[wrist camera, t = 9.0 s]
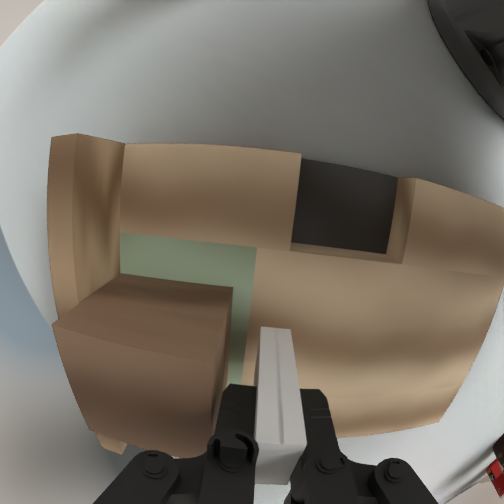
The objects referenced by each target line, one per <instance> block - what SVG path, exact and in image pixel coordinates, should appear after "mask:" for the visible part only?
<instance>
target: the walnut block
mask: <svg viewBox="0 0 504 504" xmlns="http://www.w3.org/2000/svg"><path fill="white" fill-rule="evenodd" d="M232 299H233V287H227V286H218V285H209V284H200V283H192V282H183V281H175V280H167V279H160V278H152V277H145V276H138V275H131V274H124V273H121V274H120V275H118V276H117V277H116V278H114V279H113V280H111V281H110V282H108V283H107V284H106V285H104V286H103V287H101V288H100V289H99V290H97V291H96V292H94V293H93V294H92V295H90V296H89V297H88V298H86V299H85V300H83V301H82V302H81V303H79V304H78V305H77V306H75V307H74V308H73V309H71V310H70V311H69V312H67V313H66V314H65V315H63V316H62V317H61V318H59V319H58V320H57V321H56V322H54V323H53V324H52V327H53V331H54V335H55V339H56V342H57V346H58V349H59V353H60V356H61V359H62V363H63V366H64V368H65V372H66V374H67V377H68V380H69V383H70V385H71V388H72V391H73V393H74V396H75V398H76V401H77V403H78V405H79V408H80V410H81V413H82V415H83V417H84V419H85V421H86V423H87V426H88V427H89V429H90V430H91V431H94V432H96V433H99V434H101V435H104V436H107V437H109V438H112V439H115V440H118V441H121V442H124V443H127V444H130V445H133V446H136V447H140V448H143V449H147V450H158V451H161V452H165V453H167V454H168V455H170V456H175V457H179V458H192V457H197V456H200V455H202V454H204V453H205V452H206V451H207V443H208V441H209V439H210V437H211V436H213V435H214V432H215V428H216V423H217V418H218V413H219V408H220V404H221V398H222V393H223V391H224V390H225V389H226V386H227V380H228V362H229V345H230V329H231V314H232Z"/></svg>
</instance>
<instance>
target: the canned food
mask: <svg viewBox="0 0 504 504" xmlns="http://www.w3.org/2000/svg"><path fill="white" fill-rule="evenodd" d="M487 474H488V475H489V477H490V479H491V481H492V483H493V485H494V487H495V489H496V491H497V493H498V495H499V497H500V498H501V499H502V498H503V497H504V476H503V473H502V470H501V468H500V465H499V463H498V460H497V459H496V460H495V461H494V462H492V463H491V464H490V466H489V467H488V468H487Z"/></svg>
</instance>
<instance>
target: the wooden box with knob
mask: <svg viewBox="0 0 504 504" xmlns="http://www.w3.org/2000/svg"><path fill="white" fill-rule="evenodd" d="M301 155H302V154H300V153H293V152H286V151H278V150H269V149H260V148H250V147H239V146H226V145H210V144H186V143H130V144H124V143H120V142H116V141H111V140H107V139H102V138H98V137H93V136H88V135H83V134H78V133H77V134H69V135H62V136H56V137H52V138H51V147H50V156H49V168H48V185H47V230H48V248H49V259H50V269H51V277H52V285H53V292H54V298H55V304H56V309H57V314H58V319H59V318H61V317H62V316H63V315H65V314H66V313H67V312H69V311H70V310H71V309H73V308H74V307H75V306H77V305H78V304H79V303H81V302H82V301H83V300H85V299H86V298H88V297H89V296H90V295H92V294H93V293H94V292H96V291H97V290H99V289H100V288H101V287H103V286H104V285H106V284H107V283H108V282H110V281H111V280H113V279H114V278H116V277H117V276H118V275H120V274H121V273H124V274H131V275H138V276H145V277H152V278H160V279H167V280H175V281H183V282H192V283H200V284H209V285H218V286H227V287H233V299H232V314H231V329H230V345H229V362H228V380H227V386H228V385H229V384H230V383H231V384H240V385H248V386H253V384H254V371H255V364H256V357H257V350H258V343H259V336H260V329H261V326H262V327H272V328H282V329H291V335H292V342H293V348H294V355H295V361H296V368H297V375H298V382H299V389H320V390H321V391H322V393H323V394H324V395H325V396H326V397H327V400H328V404H329V410H330V412H331V418H332V421H333V425H334V429H335V433H336V438H343V437H355V436H365V435H374V434H381V433H388V432H394V431H400V430H406V429H411V428H416V427H420V426H425V425H429V424H433V423H437V422H439V421H440V419H441V418H442V416H443V415H444V413H445V412H446V410H447V409H448V407H449V406H450V404H451V402H452V401H453V399H454V397H455V396H456V394H457V392H458V391H459V389H460V387H461V385H462V384H463V382H464V380H465V378H466V376H467V375H468V373H469V371H470V369H471V367H472V365H473V363H474V361H475V359H476V357H477V355H478V352H479V350H480V348H481V346H482V344H483V341H484V339H485V337H486V334H487V332H488V329H489V327H490V324H491V322H492V319H493V316H494V314H495V311H496V308H497V305H498V302H499V299H500V296H501V293H502V289H503V286H504V208H503V207H500V206H498V205H495V204H493V203H490V202H488V201H485V200H483V199H480V198H477V197H475V196H472V195H469V194H466V193H463V192H460V191H458V190H455V189H451V188H448V187H445V186H442V185H439V184H436V183H432V182H429V181H426V180H422V179H419V178H397V177H393V176H389V175H385V174H380V173H376V172H371V171H367V170H362V169H357V168H352V167H347V166H342V165H336V164H331V163H325V162H319V161H313V160H306V159H301ZM227 386H226V387H227ZM95 433H96V432H95ZM96 435H97V437H98V439H99V441H100V443H101V445H102V447H103V448H105V449H108V450H110V451H113V452H116V453H119V454H123V452H124V450H125V448H126V445H127V443H124V442H121V441H118V440H115V439H112V438H109V437H107V436H104V435H101V434H99V433H96Z"/></svg>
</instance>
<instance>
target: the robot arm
mask: <svg viewBox="0 0 504 504" xmlns="http://www.w3.org/2000/svg"><path fill="white" fill-rule="evenodd" d="M428 3H429V7H430V11H431V14H432V17H433V19H434V22H435V24H436V26H437V28H438V30H439V32H440V34H441V36H442V38H443V40H444V42H445V43H446V45H447V47H448V49H449V50H450V52H451V54H452V55H453V57H454V58H455V60H456V61H457V63H458V65H459V66H460V68H461V69H462V70H463V72H464V73H465V75H466V76H467V78H468V79H469V80H470V82H471V83H472V84H473V86H474V87H475V88H476V90H477V91H478V92H479V94H480V95H481V96H482V97H483V98H484V100H485V101H486V102H487V103H488V104H489V105H490V106H491V107H492V108H493V109H494V111H495V112H497V113H498V114H499V115H500V116H501V117H502V118H503V119H504V0H428ZM289 481H290V483H291V490H290V492H289V494H288V495H287V497H286V499H285V500H284V504H438V502H437V501H436V500H435V498H434V497H433V496H432V494H431V493H430V492H429V490H428V489H427V488H426V486H425V485H424V484H423V482H422V481H421V480H420V478H419V477H418V476H417V474H416V473H415V472H414V470H413V469H412V467H411V466H410V465H409V464H408V463H407V462H406V461H403V460H401V459H398V458H389V459H385V460H383V461H382V462H380V463H379V464H378V465H377V466H375V465H367V464H360V463H356V462H353V461H351V460H349V459H348V458H347V457H346V456H345V455H344V454H343V453H342V452H341V451H340V449H339V446H338V442H337V438H336V433H335V429H334V425H333V421H332V418H331V412H330V410H329V404H328V400H327V397H326V396H325V395H324V394H323V393H322V391H321V390H320V389H299V382H298V375H297V368H296V361H295V355H294V348H293V342H292V335H291V329H282V328H272V327H262V326H261V329H260V336H259V343H258V350H257V357H256V364H255V371H254V384H253V386H248V385H240V384H231V383H230V384H229V385H228V386H227V387H226V389H225V390H224V391H223V393H222V398H221V404H220V408H219V413H218V418H217V423H216V428H215V432H214V435H213V436H211V437H210V439H209V441H208V443H207V451H206V452H205V453H204V454H202V455H200V456H197V457H192V458H179V459H174V458H173V457H171V456H170V455H168V454H167V453H165V452H161V451H158V450H148V451H144V452H141V453H139V454H138V455H136V456H135V457H134V458H133V459H132V460H131V461H130V462H129V464H128V465H127V466H126V467H125V468H124V469H123V471H122V472H121V473H120V474H119V475H118V476H117V478H115V480H114V481H113V482H112V483H111V484H110V485H109V486H108V487H107V489H106V490H105V491H104V492H103V493H102V494H101V495H100V496H99V497H98V498H97V500H96V501H95V502H94V503H93V504H253V501H254V485H255V484H278V485H287V484H288V482H289Z"/></svg>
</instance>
